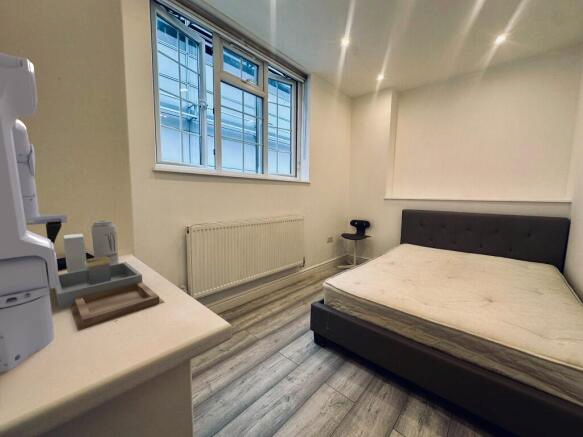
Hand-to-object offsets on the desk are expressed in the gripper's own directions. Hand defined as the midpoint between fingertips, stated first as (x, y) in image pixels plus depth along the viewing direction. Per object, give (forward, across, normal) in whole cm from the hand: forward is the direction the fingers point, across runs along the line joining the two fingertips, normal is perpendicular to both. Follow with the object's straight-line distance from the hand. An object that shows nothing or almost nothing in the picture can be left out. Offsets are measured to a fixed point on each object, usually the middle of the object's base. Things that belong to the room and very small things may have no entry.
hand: (25, 257), depth 52 cm
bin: (+10, -11, +5) cm, 16 cm away
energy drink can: (+10, -16, -15) cm, 25 cm away
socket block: (+10, -12, +18) cm, 24 cm away
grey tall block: (+9, -12, +5) cm, 15 cm away
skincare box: (+10, -9, -12) cm, 18 cm away
